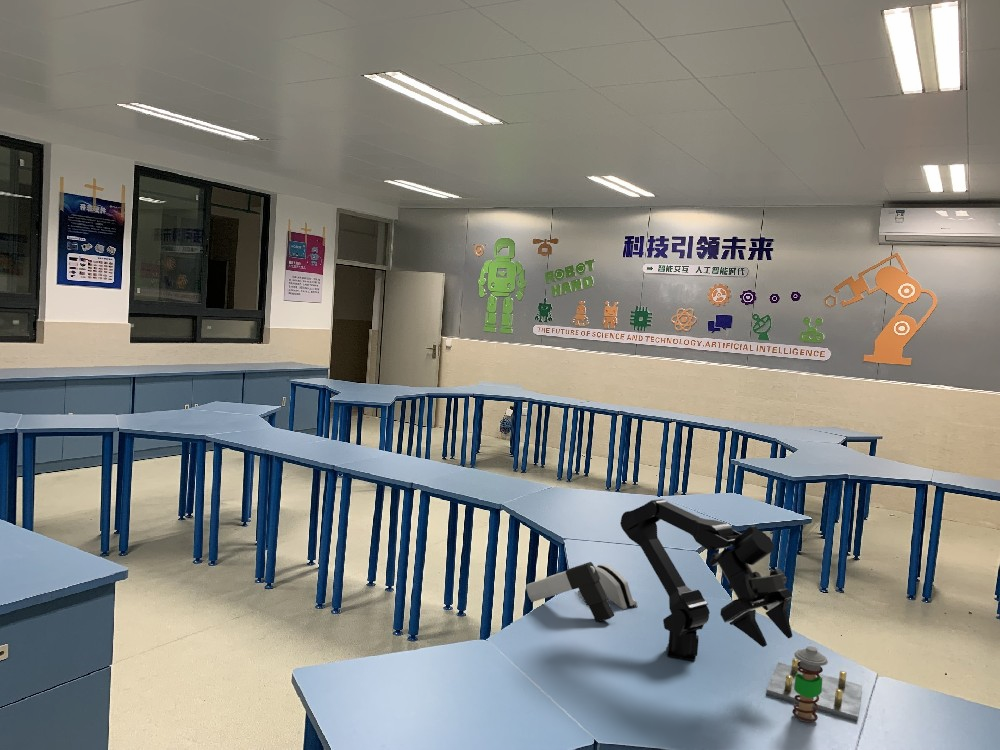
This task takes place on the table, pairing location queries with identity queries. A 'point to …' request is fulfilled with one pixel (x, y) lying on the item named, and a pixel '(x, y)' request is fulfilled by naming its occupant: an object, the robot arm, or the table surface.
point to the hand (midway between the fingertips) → (778, 641)
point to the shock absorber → (808, 683)
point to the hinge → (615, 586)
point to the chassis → (833, 698)
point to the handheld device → (572, 579)
